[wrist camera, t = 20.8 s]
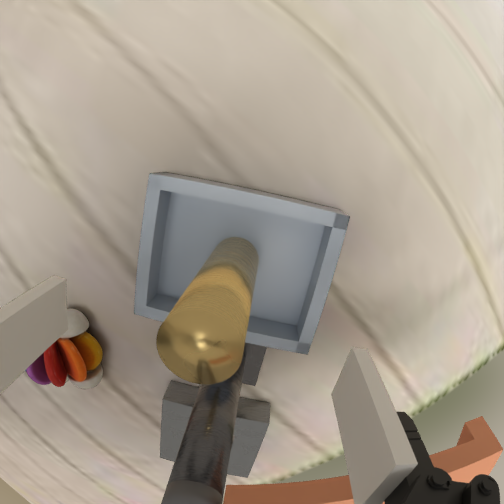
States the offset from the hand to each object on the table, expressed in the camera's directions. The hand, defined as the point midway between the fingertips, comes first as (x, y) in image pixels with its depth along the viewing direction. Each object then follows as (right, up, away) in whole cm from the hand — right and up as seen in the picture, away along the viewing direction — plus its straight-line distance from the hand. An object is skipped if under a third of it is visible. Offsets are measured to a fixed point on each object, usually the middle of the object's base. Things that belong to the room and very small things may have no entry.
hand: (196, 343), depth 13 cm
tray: (+1, +3, +13) cm, 13 cm away
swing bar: (+7, -7, 0) cm, 10 cm away
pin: (+1, +3, +12) cm, 12 cm away
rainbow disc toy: (-17, -5, +17) cm, 24 cm away
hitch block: (-2, -15, +18) cm, 23 cm away
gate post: (0, -5, +15) cm, 16 cm away
